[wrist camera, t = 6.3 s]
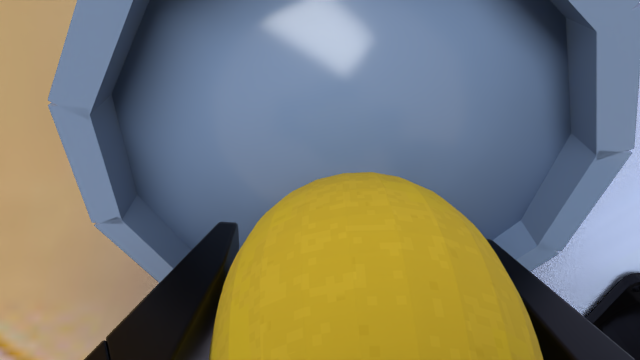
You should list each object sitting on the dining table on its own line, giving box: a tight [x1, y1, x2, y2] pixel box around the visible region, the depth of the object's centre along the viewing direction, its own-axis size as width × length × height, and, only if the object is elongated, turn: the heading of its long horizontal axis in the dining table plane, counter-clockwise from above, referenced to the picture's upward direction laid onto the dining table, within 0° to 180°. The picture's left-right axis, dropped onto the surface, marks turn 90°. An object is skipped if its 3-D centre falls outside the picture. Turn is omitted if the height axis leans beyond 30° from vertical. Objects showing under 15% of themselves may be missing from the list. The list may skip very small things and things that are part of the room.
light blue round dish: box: [48, 0, 640, 283], centre depth 11 cm, size 15×15×2 cm
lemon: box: [209, 172, 543, 360], centre depth 7 cm, size 6×6×8 cm
